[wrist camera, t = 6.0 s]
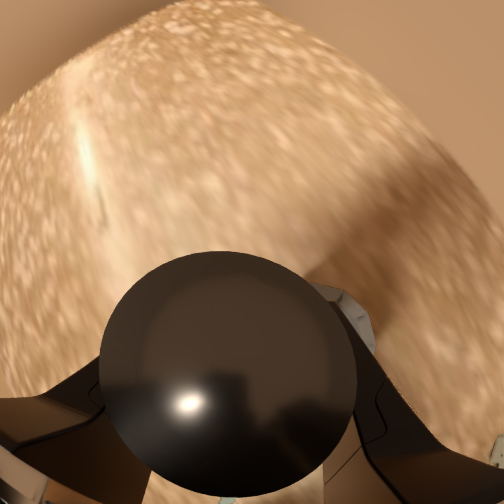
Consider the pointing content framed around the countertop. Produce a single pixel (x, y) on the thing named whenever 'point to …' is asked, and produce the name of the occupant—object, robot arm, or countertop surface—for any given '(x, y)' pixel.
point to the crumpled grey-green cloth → (498, 451)
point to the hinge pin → (227, 374)
